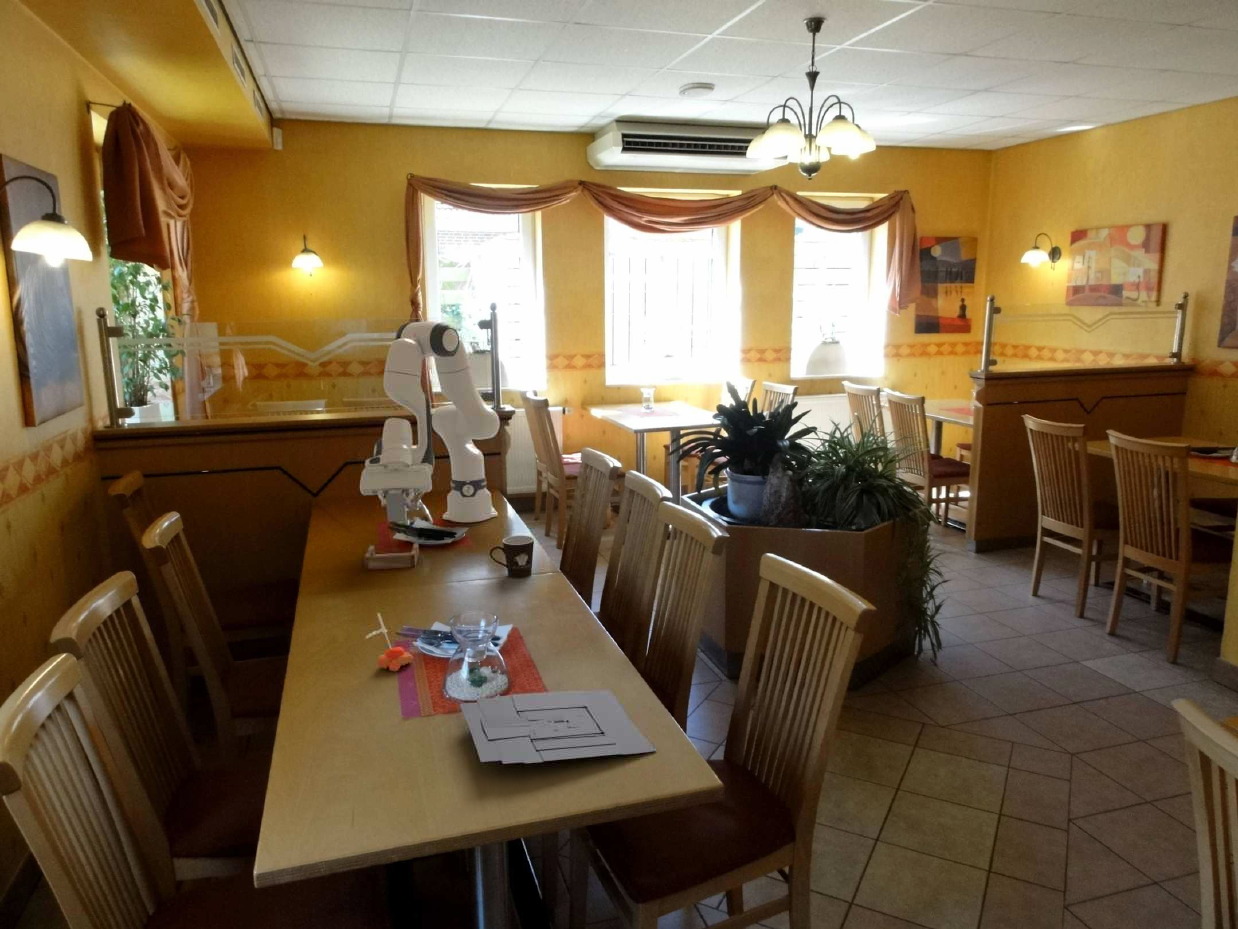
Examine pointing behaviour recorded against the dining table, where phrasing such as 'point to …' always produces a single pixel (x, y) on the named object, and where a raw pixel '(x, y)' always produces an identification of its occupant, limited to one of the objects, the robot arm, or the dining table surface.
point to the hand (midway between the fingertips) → (395, 504)
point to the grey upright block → (396, 505)
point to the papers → (552, 727)
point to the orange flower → (391, 653)
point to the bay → (390, 559)
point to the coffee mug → (517, 555)
